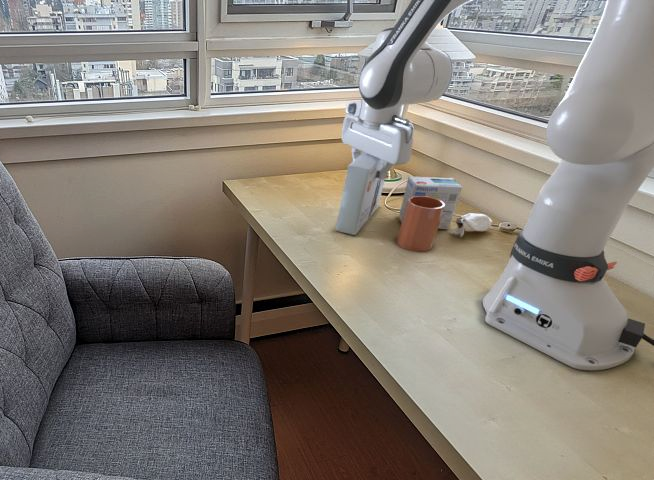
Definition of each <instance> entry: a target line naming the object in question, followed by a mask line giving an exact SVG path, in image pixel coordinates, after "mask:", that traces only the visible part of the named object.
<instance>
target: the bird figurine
mask: <svg viewBox="0 0 654 480" xmlns="http://www.w3.org/2000/svg"><path fill="white" fill-rule="evenodd" d="M455 224H456V227H455V228H453V229H451V232H450V234H451V235H453V234H455V235H459V237H460V238H462V239H463V236H464V235H465V232H485V231H488V230H493V229H495V227H494V226H493V227H492V225H493V220H492V219H491V218H490V217H489V216H488V214H484V213H475V212H474V213H473V212H469V213H466V214H464V215H460V216H458V217H457V218H456V220H455Z"/></svg>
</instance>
